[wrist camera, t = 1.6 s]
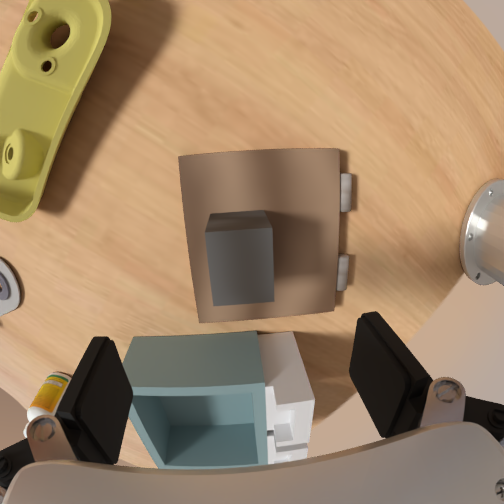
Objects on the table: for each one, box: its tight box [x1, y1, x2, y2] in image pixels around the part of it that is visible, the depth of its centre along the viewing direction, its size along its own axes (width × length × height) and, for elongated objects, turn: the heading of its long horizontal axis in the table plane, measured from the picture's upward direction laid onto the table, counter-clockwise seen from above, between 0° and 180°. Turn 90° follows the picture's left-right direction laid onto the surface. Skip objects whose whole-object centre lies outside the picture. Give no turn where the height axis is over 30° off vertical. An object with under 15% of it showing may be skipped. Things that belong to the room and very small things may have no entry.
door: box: [178, 148, 352, 323], centre depth 22 cm, size 13×14×6 cm
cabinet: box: [122, 331, 315, 469], centre depth 26 cm, size 15×14×9 cm
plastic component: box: [0, 0, 111, 222], centre depth 17 cm, size 20×7×10 cm
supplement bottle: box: [24, 372, 72, 438], centre depth 25 cm, size 5×5×10 cm
